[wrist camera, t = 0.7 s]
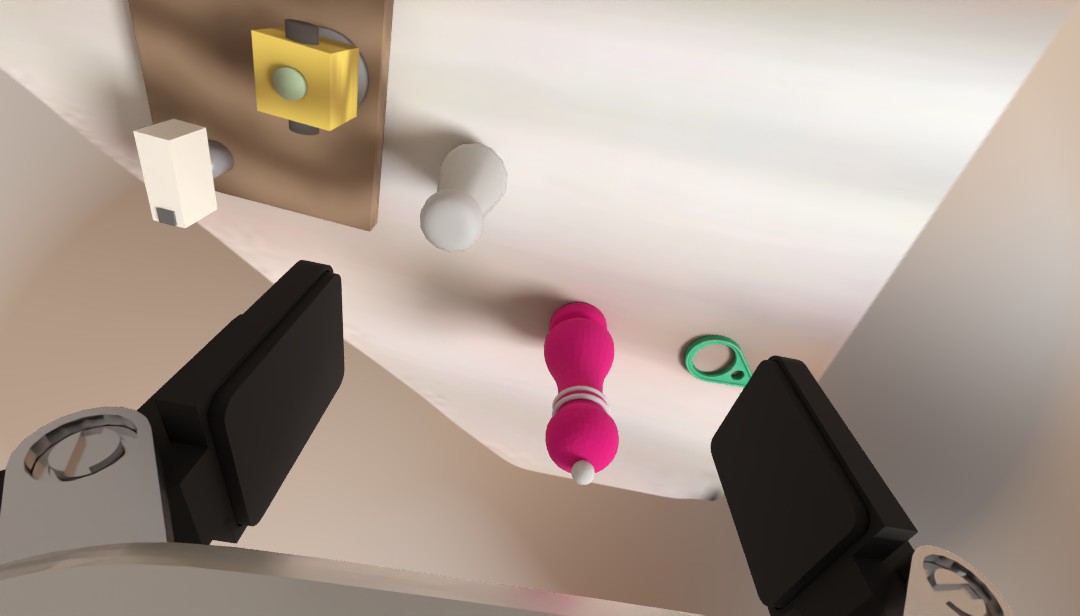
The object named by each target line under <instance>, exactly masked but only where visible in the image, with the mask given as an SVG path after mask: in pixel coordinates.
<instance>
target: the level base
mask: <svg viewBox="0 0 1080 616" xmlns="http://www.w3.org/2000/svg"><path fill="white" fill-rule="evenodd" d="M128 1H129V6H130V11H131V16H132V21H133V26H134V31H135V36H136V41H137V46H138V51H139V56H140V61H141V66H142V71H143V76H144V81H145V86H146V91H147V96H148V101H149V106H150V111H151V116H152V121H153V125H154V124H158V123H161V122H165V121H168V120H171V119H177V120H180V121H184V122H187V123H191V124H195V125H198V126H202V127H206V131H207V138H208V142H212V141H213V142H218V143H220V144H222V145H224V146H225V147H226V148H227V149H228V150H229V151H230V153H231V154H232V156H233V159H234V165H233V168H232V169H231V170H229V171H227V172H225V173H223V174H221V175H219V176H217V177H215V178H213V182H214V189H215V191H217V192H221V193H225V194H229V195H232V196H236V197H240V198H244V199H248V200H251V201H255V202H259V203H263V204H267V205H271V206H274V207H278V208H282V209H286V210H290V211H294V212H297V213H301V214H305V215H309V216H313V217H316V218H320V219H324V220H328V221H332V222H336V223H339V224H343V225H347V226H351V227H355V228H358V229H362V230H366V231H371V229H372V228H373V227H374V226H375V225H376V224H377V217H378V204H379V190H380V177H381V163H382V150H383V136H384V123H385V109H386V96H387V82H388V69H389V55H390V42H391V28H392V15H393V1H394V0H128Z"/></svg>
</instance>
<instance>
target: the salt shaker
mask: <svg viewBox="0 0 1080 616" xmlns="http://www.w3.org/2000/svg"><path fill="white" fill-rule="evenodd" d="M506 186H507V171H506V169H505V166H504V163H503V161H502V159H501V158H500V157H499V156H498V155H497V154H496V153H495V152H494V151H493V150H492V149H491V148H489V147H486V146H483V145H481V144H478V143H471V144H461V145H459V146H458V147H456V148H455V149H453V150H452V151H450V152H449V153H448V154H447V156H446V158H445V160H444V161H443V163H442V165H441V169H440V176H439V182H438V189H437V193H435V194H433V195H432V196H430V197H429V198H428V199H427V201H426V203H425V205H424V206H423V208H422V210H421V214H420V222H421V229H422V231H423V233H424V235H425V237H426V239H427V240H428V241H429V242H431V243H432V244H433V245H434V246H435V247H437V248H439V249H442V250H445V251H448V252H457V251H463V250H465V249H467V248H469V247H470V246H472V245H473V244H474V243H475V242H476V240H477V239H478V237H479V235H480V234H481V232H482V228H483V217H484V216H485V215H486V214H487V213H488V212H489V211H490V210H491V209H492V208H493V207H494V206H495V205H496V204H497V203H498V202H499V201H500V199H501V197H502V196H503V194H504V193H505V191H506Z"/></svg>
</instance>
